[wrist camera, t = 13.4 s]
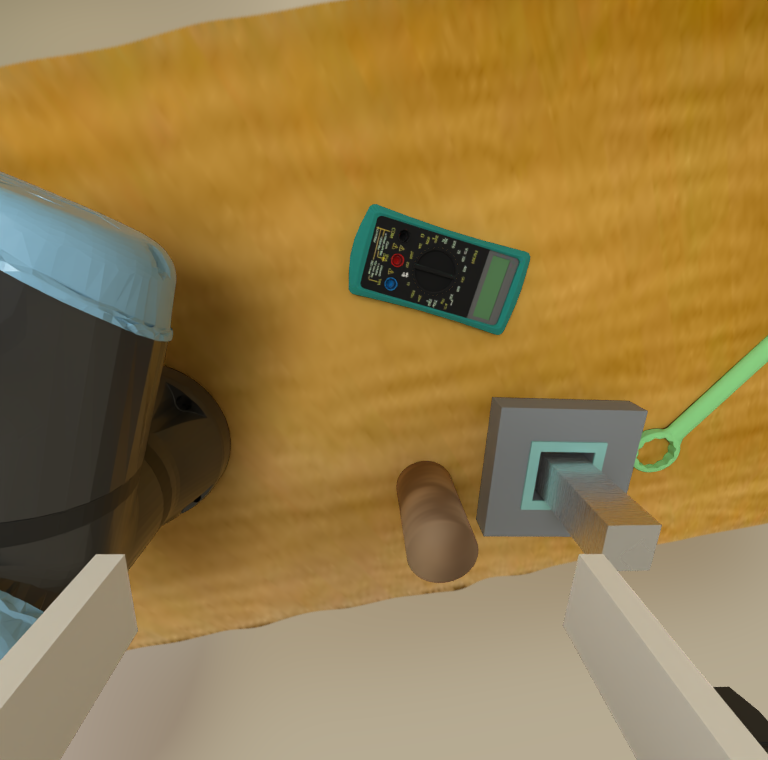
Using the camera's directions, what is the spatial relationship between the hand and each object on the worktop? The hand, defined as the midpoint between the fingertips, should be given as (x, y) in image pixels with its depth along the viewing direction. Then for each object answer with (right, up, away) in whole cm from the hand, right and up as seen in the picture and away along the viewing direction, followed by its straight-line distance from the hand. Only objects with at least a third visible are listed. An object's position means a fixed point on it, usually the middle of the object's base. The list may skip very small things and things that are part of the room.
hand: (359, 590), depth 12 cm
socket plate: (+18, -2, +30) cm, 35 cm away
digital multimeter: (+5, +16, +24) cm, 29 cm away
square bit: (+18, -2, +30) cm, 35 cm away
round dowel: (+5, -5, +30) cm, 31 cm away
